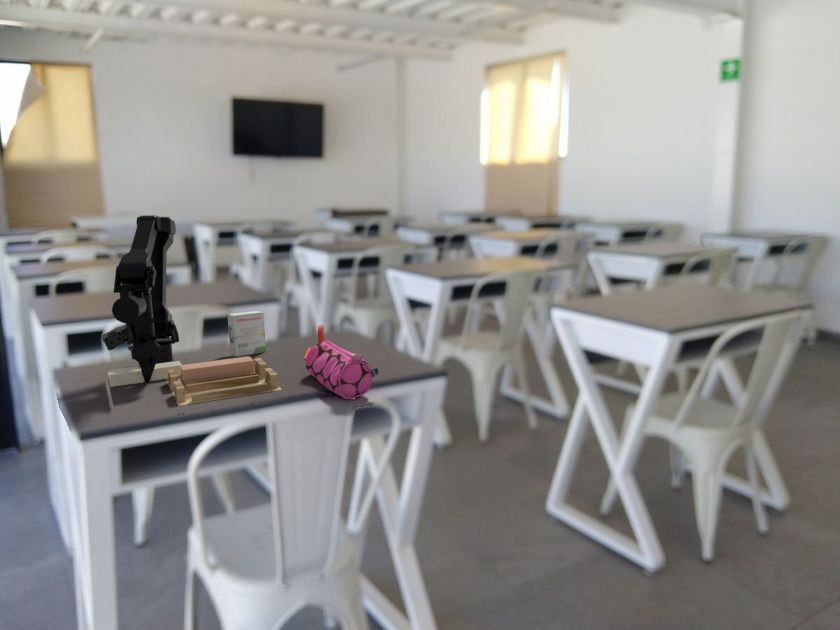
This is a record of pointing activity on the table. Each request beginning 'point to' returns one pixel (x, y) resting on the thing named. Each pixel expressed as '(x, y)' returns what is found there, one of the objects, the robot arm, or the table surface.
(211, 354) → the table surface
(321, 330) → the bracket
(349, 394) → the pencil case
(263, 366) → the rack
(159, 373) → the long ivory plank
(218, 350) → the table surface
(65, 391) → the table surface
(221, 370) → the fired brick
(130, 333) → the robot arm
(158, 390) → the table surface
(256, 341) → the ink box
